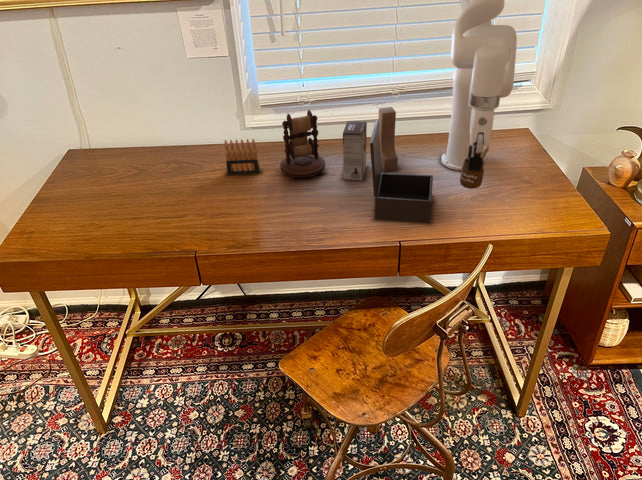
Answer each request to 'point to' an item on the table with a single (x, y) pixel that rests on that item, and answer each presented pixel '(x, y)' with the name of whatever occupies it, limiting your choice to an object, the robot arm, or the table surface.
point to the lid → (375, 157)
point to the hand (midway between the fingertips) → (474, 163)
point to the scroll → (301, 147)
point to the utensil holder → (471, 174)
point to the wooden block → (387, 138)
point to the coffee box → (354, 150)
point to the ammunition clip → (237, 160)
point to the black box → (404, 198)
